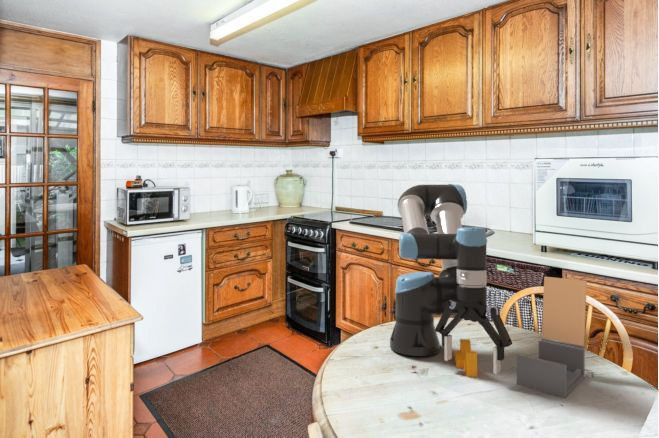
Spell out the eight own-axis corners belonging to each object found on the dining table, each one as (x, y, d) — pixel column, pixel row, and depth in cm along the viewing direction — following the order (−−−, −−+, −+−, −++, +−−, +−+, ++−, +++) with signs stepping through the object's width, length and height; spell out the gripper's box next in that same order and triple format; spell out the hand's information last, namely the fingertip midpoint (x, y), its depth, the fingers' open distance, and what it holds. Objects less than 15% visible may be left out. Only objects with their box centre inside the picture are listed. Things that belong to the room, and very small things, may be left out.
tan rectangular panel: (544, 276, 117) (545, 276, 117) (541, 340, 115) (542, 339, 116) (586, 280, 109) (586, 280, 110) (583, 348, 108) (584, 348, 108)
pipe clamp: (453, 360, 121) (454, 338, 121) (469, 361, 120) (469, 339, 120) (460, 376, 109) (460, 352, 109) (477, 377, 108) (477, 353, 108)
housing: (516, 384, 104) (516, 354, 103) (539, 366, 115) (540, 340, 115) (565, 397, 96) (565, 366, 96) (584, 377, 108) (584, 349, 108)
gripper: (422, 281, 114) (422, 357, 114) (514, 292, 97) (514, 382, 96) (436, 279, 120) (437, 351, 119) (525, 289, 102) (526, 374, 102)
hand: (471, 365), depth 108 cm, fingers open, 13 cm apart
